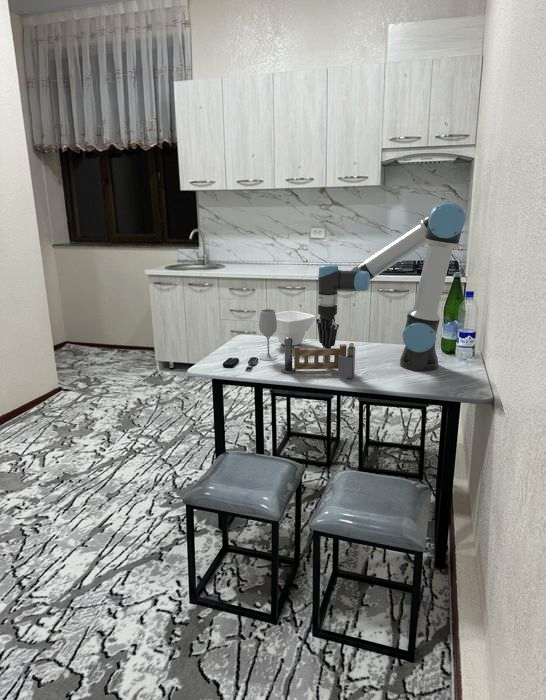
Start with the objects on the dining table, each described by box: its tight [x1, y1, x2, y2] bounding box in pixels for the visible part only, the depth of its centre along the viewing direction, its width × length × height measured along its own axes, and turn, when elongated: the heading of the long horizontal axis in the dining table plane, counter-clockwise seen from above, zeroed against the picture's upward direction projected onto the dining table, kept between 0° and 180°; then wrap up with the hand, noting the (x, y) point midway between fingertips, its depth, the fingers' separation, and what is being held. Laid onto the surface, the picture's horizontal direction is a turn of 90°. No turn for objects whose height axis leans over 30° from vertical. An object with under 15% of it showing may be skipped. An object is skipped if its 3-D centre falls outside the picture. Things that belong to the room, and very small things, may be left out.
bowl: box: [275, 310, 317, 347], centre depth 244 cm, size 19×19×14 cm
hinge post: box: [280, 337, 297, 375], centre depth 206 cm, size 6×6×14 cm
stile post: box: [337, 342, 356, 380], centre depth 198 cm, size 5×5×14 cm
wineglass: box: [258, 308, 278, 362], centre depth 223 cm, size 8×8×21 cm
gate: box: [293, 343, 348, 371], centre depth 207 cm, size 20×2×10 cm, turn 91°
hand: (326, 361), depth 211 cm, fingers closed
